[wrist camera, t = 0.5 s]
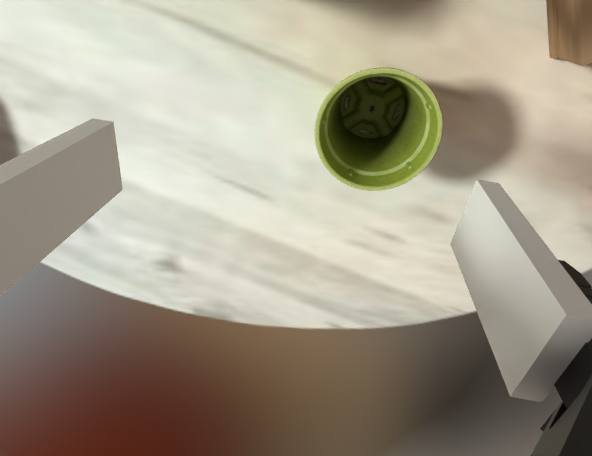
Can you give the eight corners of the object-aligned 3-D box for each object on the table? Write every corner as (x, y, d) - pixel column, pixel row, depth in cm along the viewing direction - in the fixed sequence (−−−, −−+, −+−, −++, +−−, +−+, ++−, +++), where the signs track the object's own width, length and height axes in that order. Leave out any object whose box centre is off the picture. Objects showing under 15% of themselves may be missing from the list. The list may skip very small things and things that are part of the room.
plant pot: (331, 43, 34) (326, 57, 27) (437, 60, 34) (461, 80, 26) (314, 144, 39) (306, 180, 32) (407, 160, 39) (420, 200, 31)
